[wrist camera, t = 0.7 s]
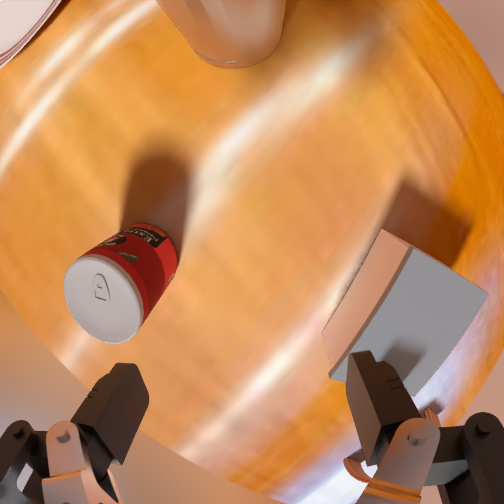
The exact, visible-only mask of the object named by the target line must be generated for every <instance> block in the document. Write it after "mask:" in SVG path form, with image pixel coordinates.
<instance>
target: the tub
mask: <svg viewBox="0 0 504 504" xmlns="http://www.w3.org/2000/svg"><path fill="white" fill-rule="evenodd" d="M409 246H412V247H414V248H416V247H415V246H413V245H411V244H409V243H407V242H406V241H404V240H402V239H400V238H398V237H397V236H395V235H393V234H391V233H389V232H387V231H386V230H384V229H382V228H381V230H380V232H379V234H378V236H377V238H376V240H375V242H374V244H373V246H372V248H371V249H370V251H369V253H368V255H367V257H366V259H365V261H364V263H363V264H362V266H361V268H360V270H359V272H358V273H357V275H356V277H355V279H354V281H353V282H352V284H351V286H350V287H349V289H348V291H347V293H346V294H345V296H344V298H343V299H342V301H341V303H340V304H339V306H338V308H337V309H336V311H335V313H334V314H333V316H332V317H331V319H330V321H329V322H328V324H327V325H326V327H325V329H324V330H323V332H322V335H323V339H324V343H325V346H326V350H327V354H328V357H329V361H330V365H331V369H332V368H333V366H334V365H335V364H336V362H337V361H338V360H339V358H340V357H341V356H342V354H343V353H344V352H345V350H346V349H347V347H348V346H349V344H350V343H351V342H352V340H353V339H354V337H355V336H356V334H357V333H358V331H359V330H360V328H361V327H362V325H363V324H364V322H365V321H366V319H367V318H368V316H369V315H370V313H371V312H372V310H373V309H374V307H375V305H376V304H377V302H378V301H379V299H380V297H381V296H382V294H383V292H384V291H385V289H386V287H387V286H388V284H389V282H390V280H391V279H392V277H393V275H394V273H395V272H396V270H397V268H398V266H399V265H400V263H401V261H402V259H403V257H404V255H405V253H406V252H407V250H408V248H409ZM416 249H417V250H419V251H421V252H423V251H422V250H420V249H418V248H416ZM423 253H424V254H426V255H428V254H427V253H425V252H423ZM428 256H430V255H428ZM430 257H431V258H433V257H432V256H430ZM433 259H435V258H433ZM435 260H436V261H438V260H437V259H435ZM438 262H440V261H438ZM440 263H441V264H443V263H442V262H440ZM443 265H445V264H443ZM445 266H446V267H448V266H447V265H445ZM448 268H450V267H448ZM450 269H451V268H450ZM451 270H453V269H451ZM453 271H454V270H453ZM454 272H455V271H454ZM456 273H457V272H456Z"/></svg>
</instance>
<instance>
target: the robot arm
mask: <svg viewBox="0 0 504 504" xmlns="http://www.w3.org/2000/svg"><path fill="white" fill-rule="evenodd" d="M156 1H157V3H158V4H159V5H160V6H161V8H162V9H163V10H164V11H165V13H166V14H167V15H168V17H169V18H170V19H171V20H172V22H173V23H174V24H175V26H176V27H177V28H178V30H179V31H180V32H181V34H182V35H183V36H184V38H185V39H186V40H187V42H188V43H189V44H190V46H191V47H192V48H193V50H194V51H195V52H196V53H197V55H198V56H199V57H200V58H201V59H203V60H204V61H206V62H207V63H209V64H212V65H214V66H217V67H222V68H242V67H248V66H251V65H254V64H256V63H258V62H260V61H262V60H264V59H265V58H267V57H268V56H269V55H270V54H271V53H272V52H273V51H274V50H275V49H276V47H277V45H278V43H279V41H280V39H281V33H282V27H283V21H284V13H285V6H286V0H156ZM346 395H347V400H348V403H349V406H350V409H351V413H352V416H353V419H354V423H355V426H356V429H357V433H358V436H359V440H360V443H361V446H362V450H363V454H364V457H365V461H366V464H367V467H368V466H372V465H376V464H377V467H378V469H377V471H376V473H375V474H374V476H373V478H372V480H371V481H370V483H369V484H368V485H367V486H366V488H365V490H364V491H363V493H362V494H361V496H360V498H359V499H358V501H357V502H356V504H419V503H420V501H421V496H420V493H421V490H422V488H423V486H432V485H437V487H438V490H439V493H440V497H441V500H442V504H504V428H503V426H502V424H501V422H500V421H499V420H498V418H497V417H496V416H494V415H493V414H490V413H486V412H480V413H476V414H474V415H472V416H471V417H470V418H469V419H468V420H467V421H466V423H465V425H463V426H454V427H438V426H437V425H436V424H435V423H434V422H432V421H431V420H428V419H425V418H422V417H421V415H420V414H419V412H418V410H417V408H416V406H415V404H414V402H413V400H412V399H411V397H410V395H409V393H408V391H407V389H406V388H405V387H404V384H403V382H402V380H401V379H400V377H399V375H398V373H397V372H396V370H395V368H394V367H393V366H391V365H390V364H388V363H387V362H386V361H379V362H376V360H375V358H374V356H373V354H372V352H371V351H370V350H365V351H359V352H353V353H349V356H348V366H347V377H346ZM148 405H149V394H148V391H147V388H146V386H145V384H144V381H143V379H142V376H141V374H140V371H139V369H138V367H137V365H136V364H132V363H116V364H115V365H114V367H113V368H112V370H111V371H110V373H109V374H106V375H105V376H103V377H102V378H101V379H99V380H98V381H97V382H96V384H95V385H94V387H93V388H92V391H90V392H89V394H88V395H87V398H85V400H84V401H83V403H82V404H81V406H80V407H79V409H78V410H77V412H76V413H75V414H74V416H73V417H72V419H71V420H70V422H68V421H62V422H58V423H56V424H54V425H53V426H52V427H51V428H50V429H49V430H48V431H34V429H33V428H32V427H31V425H30V424H29V423H28V422H27V421H24V420H19V421H16V422H13V423H12V424H11V425H10V426H9V427H8V428H7V429H6V431H5V432H4V434H3V435H2V436H1V438H0V504H124V503H123V501H122V499H121V496H120V494H119V491H118V489H117V486H116V484H115V481H114V478H113V476H112V473H111V471H110V469H109V466H110V463H113V464H117V465H122V464H123V462H124V460H125V457H126V455H127V452H128V450H129V448H130V446H131V443H132V441H133V439H134V437H135V434H136V432H137V430H138V428H139V425H140V423H141V421H142V419H143V416H144V414H145V412H146V410H147V407H148ZM26 463H27V464H28V465H29V466H30V467H31V468H32V469H33V472H32V474H31V476H30V478H29V480H28V482H27V484H26V485H25V487H24V489H23V491H22V492H20V491H19V489H18V488H17V483H16V482H17V479H18V477H19V475H20V473H21V471H22V469H23V468H24V466H25V464H26Z"/></svg>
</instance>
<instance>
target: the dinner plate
mask: <svg viewBox="0 0 504 504" xmlns="http://www.w3.org/2000/svg"><path fill="white" fill-rule="evenodd" d="M60 2H61V0H0V68H2V67H3V66H4V65H5V64H7V63H8V62H9V61H10V60H11V59H12V58H13V57H14V56H15V55H16V54H17V53H18V52H19V51H20V50H21V49H22V48H23V47H24V46H25V45H26V44H27V42H28V41H29V40H30V39H31V38H32V37H33V36H34V34H35V33H36V32H37V31H38V30H39V29H40V27H41V26H42V25H43V24H44V23H45V21H46V20H47V19H48V18H49V16H50V15H51V14H52V12H53V11H54V10H55V9H56V7H57V6H58V5H59V3H60Z"/></svg>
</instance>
